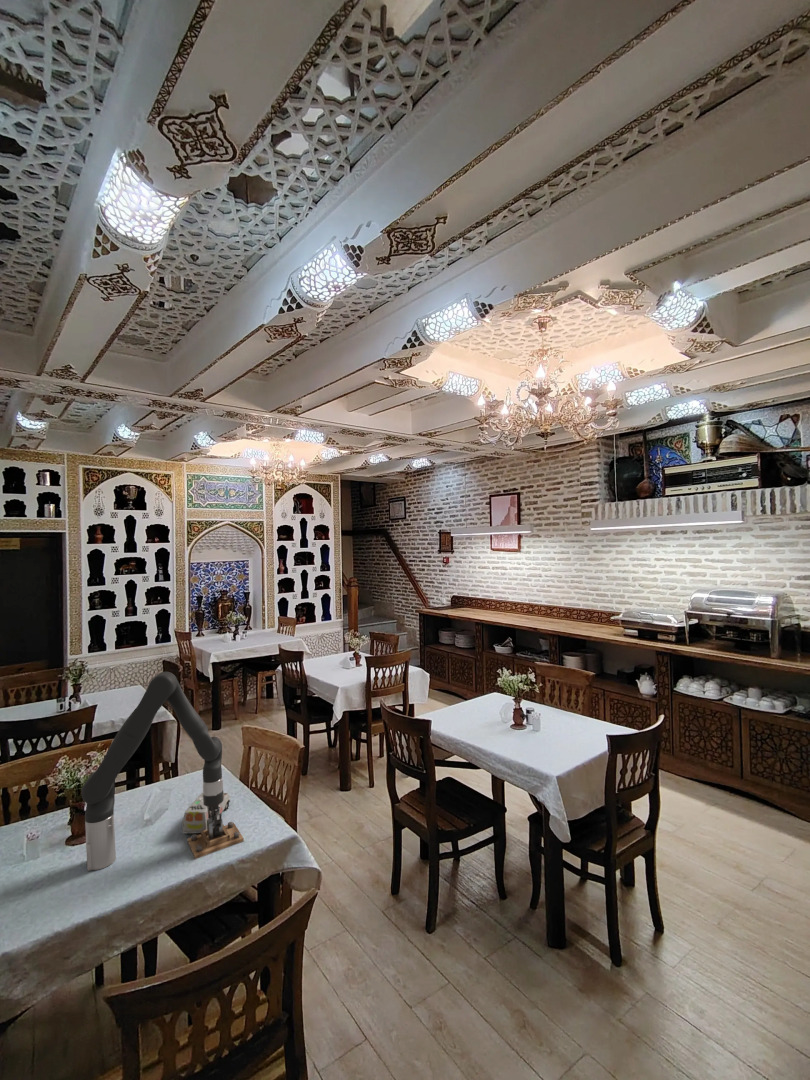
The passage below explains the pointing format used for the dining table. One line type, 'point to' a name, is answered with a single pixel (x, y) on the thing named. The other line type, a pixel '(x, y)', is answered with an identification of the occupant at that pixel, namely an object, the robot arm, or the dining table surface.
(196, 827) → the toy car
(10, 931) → the dining table surface
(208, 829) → the block
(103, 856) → the robot arm
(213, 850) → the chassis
